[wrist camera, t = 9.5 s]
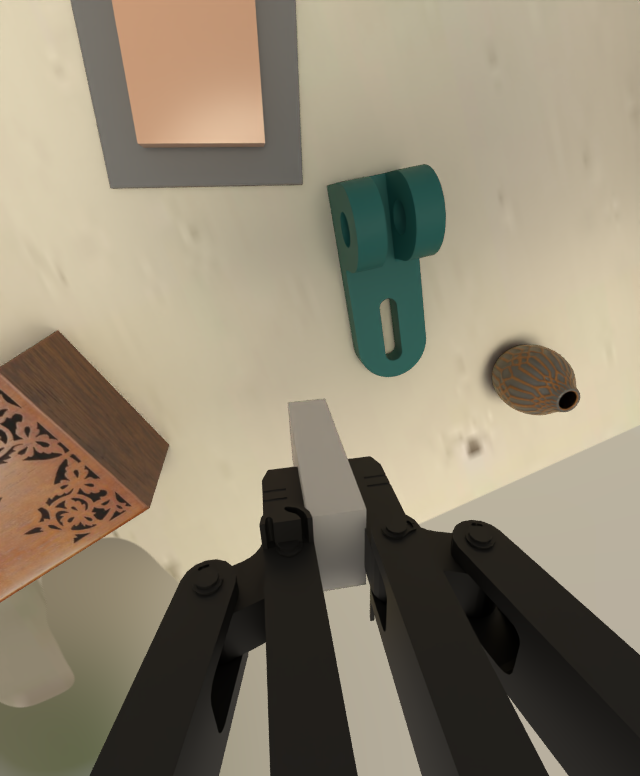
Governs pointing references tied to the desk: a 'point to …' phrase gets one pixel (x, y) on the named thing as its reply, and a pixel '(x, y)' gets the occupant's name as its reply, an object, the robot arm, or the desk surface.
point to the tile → (192, 72)
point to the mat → (196, 164)
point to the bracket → (387, 259)
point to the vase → (535, 380)
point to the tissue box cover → (66, 460)
